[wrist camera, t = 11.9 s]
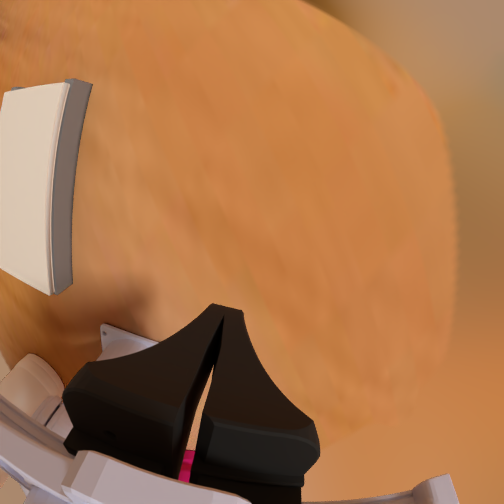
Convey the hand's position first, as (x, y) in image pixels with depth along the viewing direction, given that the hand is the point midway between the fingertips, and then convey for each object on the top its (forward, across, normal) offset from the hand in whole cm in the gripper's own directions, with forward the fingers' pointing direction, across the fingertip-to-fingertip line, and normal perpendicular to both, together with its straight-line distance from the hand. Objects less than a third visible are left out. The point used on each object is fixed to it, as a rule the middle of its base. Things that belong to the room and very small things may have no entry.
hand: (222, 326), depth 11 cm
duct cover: (+7, +20, -2) cm, 21 cm away
